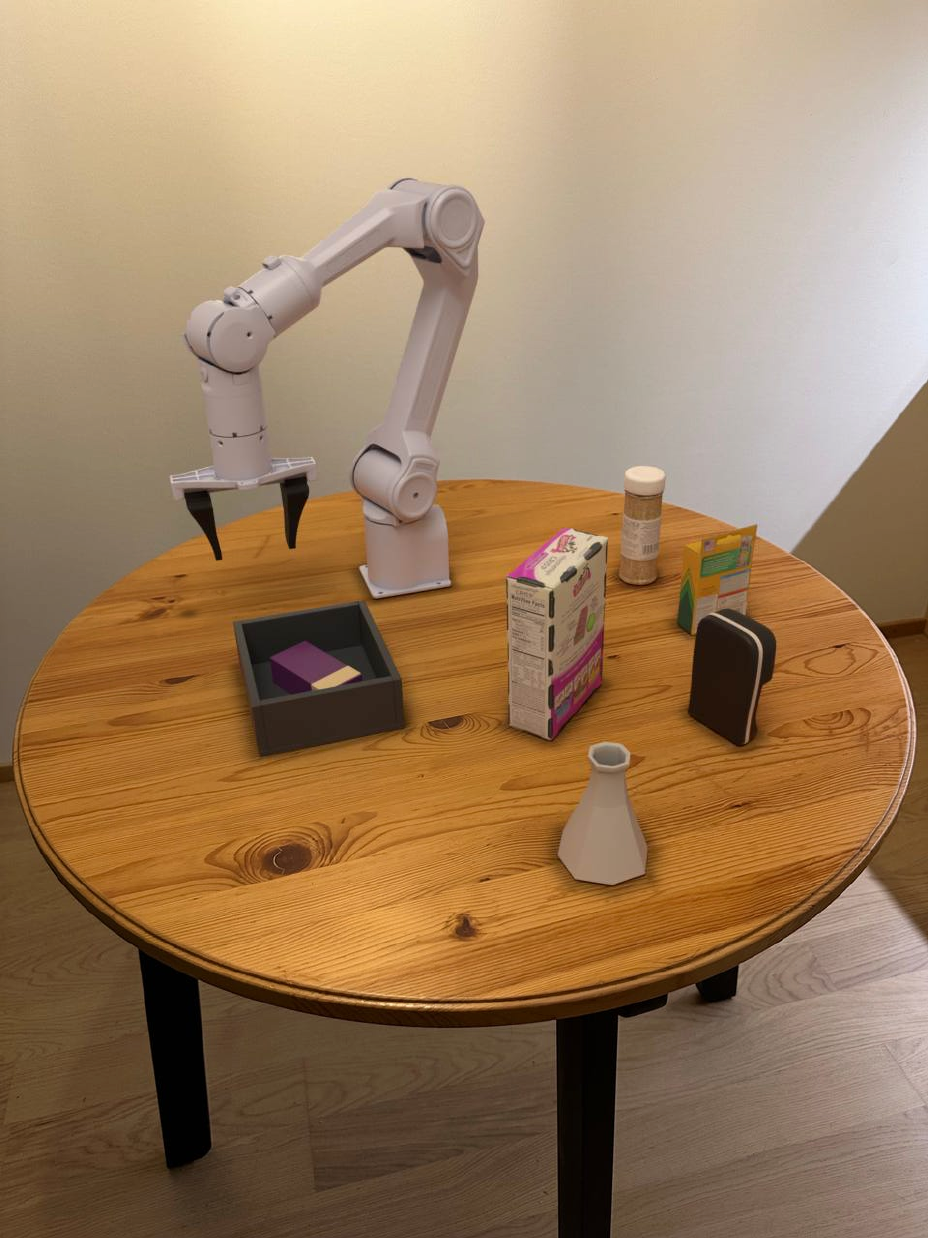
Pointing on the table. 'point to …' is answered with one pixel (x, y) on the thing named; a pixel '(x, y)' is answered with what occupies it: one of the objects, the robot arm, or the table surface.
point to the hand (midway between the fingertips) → (255, 550)
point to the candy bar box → (555, 631)
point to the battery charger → (730, 672)
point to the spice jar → (641, 524)
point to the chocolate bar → (309, 669)
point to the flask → (604, 823)
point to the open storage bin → (325, 710)
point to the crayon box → (715, 576)
